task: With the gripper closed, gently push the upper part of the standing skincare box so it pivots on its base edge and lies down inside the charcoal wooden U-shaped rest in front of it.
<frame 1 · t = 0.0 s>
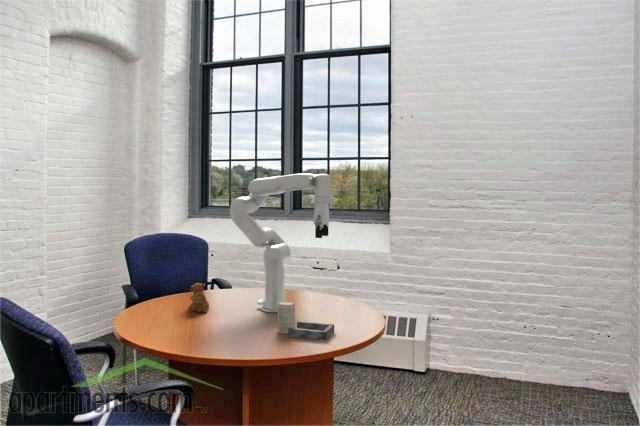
hand: (321, 236, 244), 37 cm above the table, tool pointing down, fingers open, 9 cm apart
brown teddy bear: (199, 311, 250), on the table
skincare box: (286, 332, 216), on the table
u rest: (311, 334, 213), on the table
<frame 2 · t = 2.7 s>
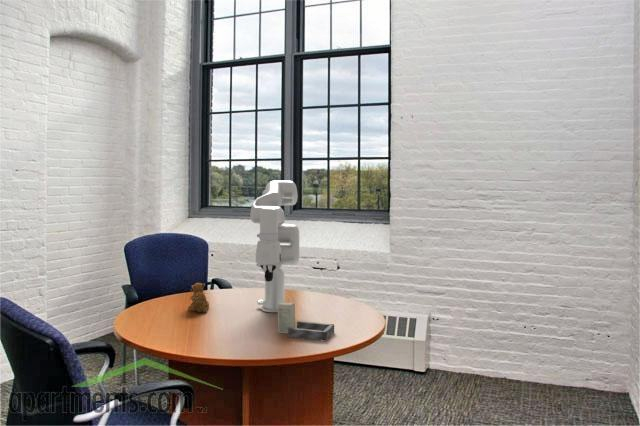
hand: (268, 280, 217), 21 cm above the table, tool pointing down, fingers closed
nothing on the table moved.
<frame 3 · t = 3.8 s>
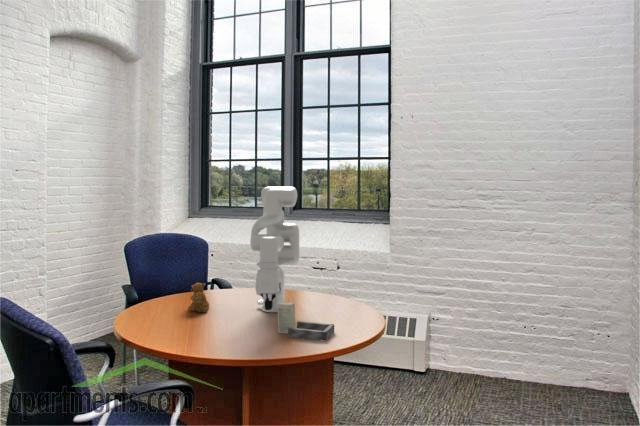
hand: (268, 309, 217), 9 cm above the table, tool pointing down, fingers closed
nothing on the table moved.
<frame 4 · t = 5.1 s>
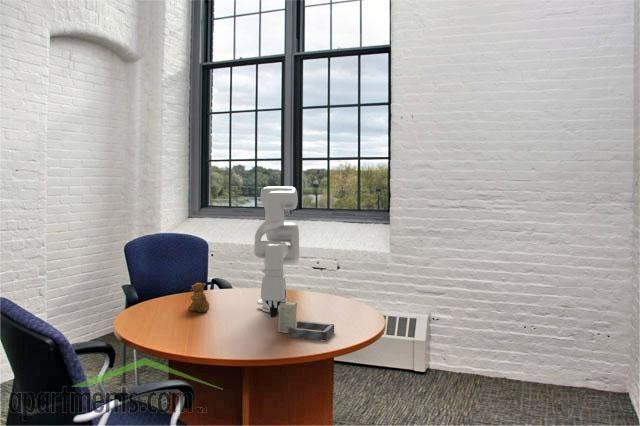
hand: (273, 316, 217), 6 cm above the table, tool pointing down, fingers closed
skincare box: (286, 332, 216), on the table, touching gripper
everything else where it was.
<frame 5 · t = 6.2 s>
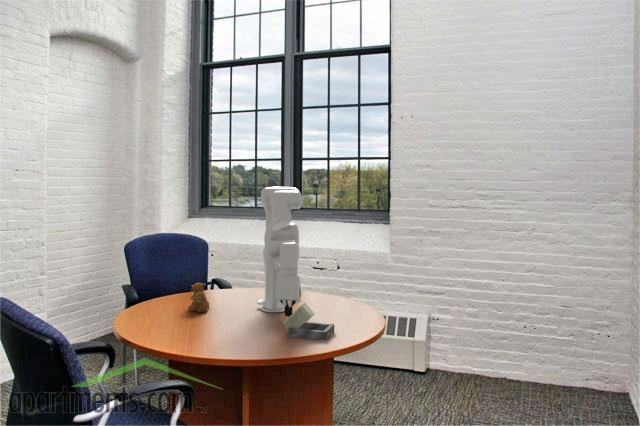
hand: (288, 315, 215), 7 cm above the table, tool pointing down, fingers closed
skincare box: (288, 327, 216), point 2 cm above the table, touching gripper
everything else where it was.
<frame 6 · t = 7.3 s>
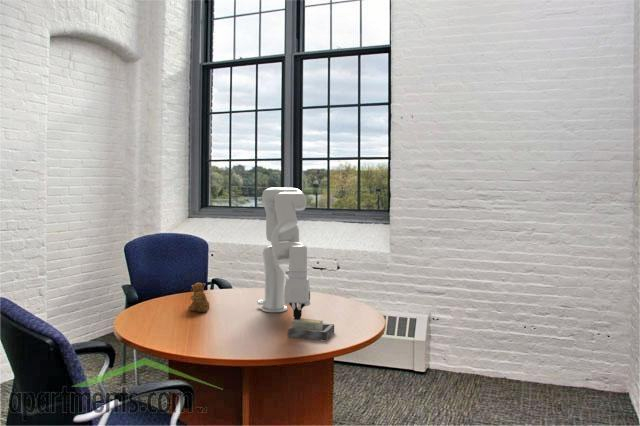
hand: (297, 318, 214), 6 cm above the table, tool pointing down, fingers closed
skincare box: (293, 325, 215), point 3 cm above the table, touching gripper
everything else where it was.
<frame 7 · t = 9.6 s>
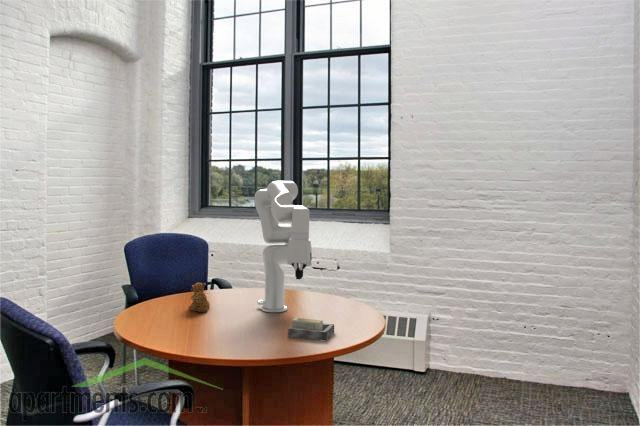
hand: (299, 278, 222), 21 cm above the table, tool pointing down, fingers closed
skincare box: (293, 325, 215), point 3 cm above the table
everything else where it was.
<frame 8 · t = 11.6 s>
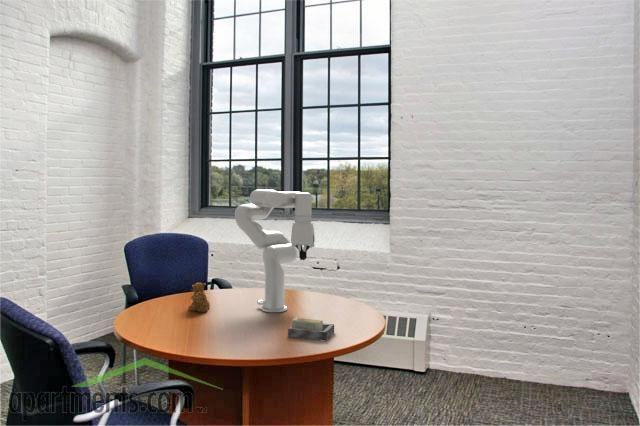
hand: (302, 259, 237), 27 cm above the table, tool pointing down, fingers closed
nothing on the table moved.
at the end: skincare box tilted 91°; skincare box inside the target area (0.4 cm from its centre), point 3.2 cm above the table; the gripper is holding nothing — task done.
